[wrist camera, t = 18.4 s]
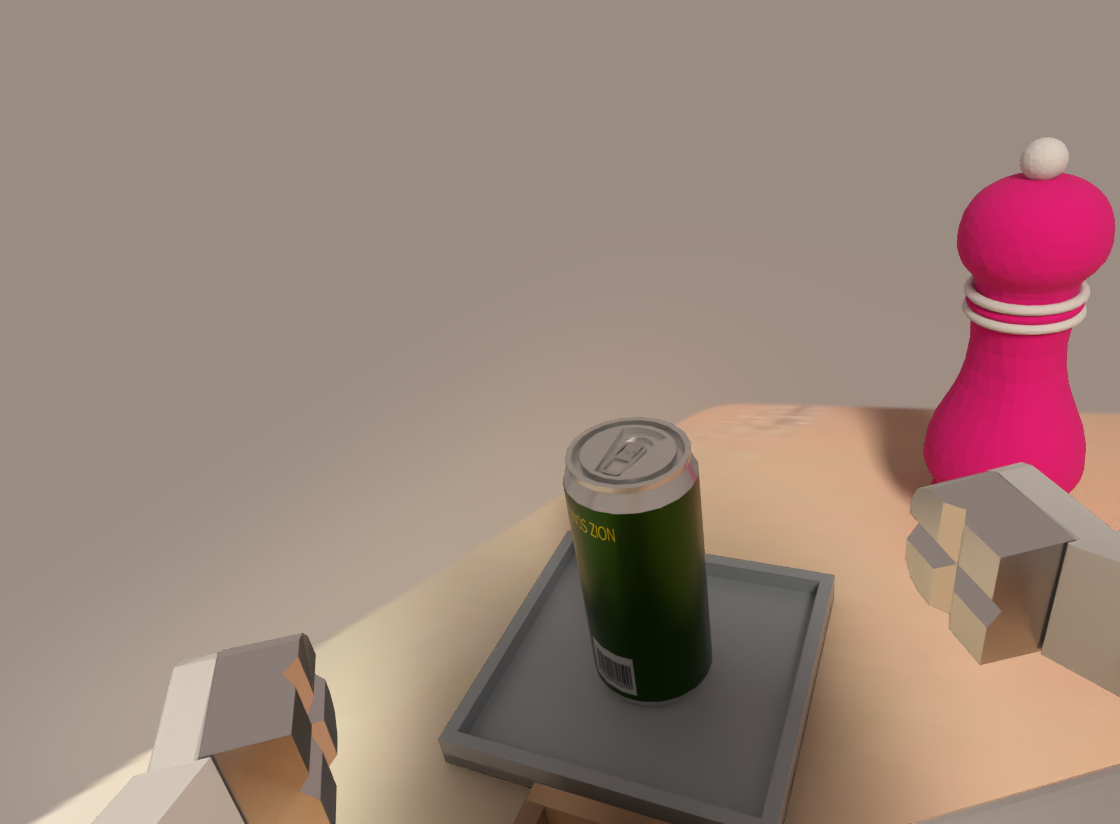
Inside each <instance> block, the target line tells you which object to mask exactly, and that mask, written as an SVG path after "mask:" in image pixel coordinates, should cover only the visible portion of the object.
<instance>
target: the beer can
mask: <svg viewBox="0 0 1120 824" xmlns="http://www.w3.org/2000/svg"><path fill="white" fill-rule="evenodd" d="M565 462H566V468H565V473H564V478H563V485H564V491H565V496H566V502H567V508H568V514H569V519H570V525H571V531H572V536H573V542H574V548H575V553H576V559H577V565H578V570H579V576H580V582H581V587H582V593H583V599H584V605H585V610H586V616H587V622H588V627H589V633H590V639H591V644H592V650H593V656H594V661H595V665H596V668H597V671H598V675H599V677H600V678H601V679H602V680H603V682H604V683H605V684H606V685H607V686H608V688H609V689H610V690H611V691H612V692H613V693H614V694H615V695H616V696H618V697H619V698H621V699H623V700H624V701H626V702H627V703H629V704H633V705H637V706H640V707H644V708H662V707H666V706H670V705H674V704H677V703H679V702H681V701H683V700H685V699H686V698H688V697H690V696H691V695H692V694H693V693H694V692H695V691H696V690H697V689H698V688H699V687H700V685H701V684H702V683H703V681H704V679H705V678H706V676H707V674H708V671H709V669H710V666H711V664H712V642H711V629H710V616H709V602H708V589H707V576H706V562H705V549H704V536H703V522H702V509H701V495H700V482H699V469H698V461H697V460H696V458H695V457H694V455H693V453H692V452H691V442H690V440H689V439H688V437H687V435H686V434H685V432H684V431H682V430H681V429H679V428H678V427H676V426H675V425H673V424H671V423H668V422H665V421H662V420H659V419H653V418H644V417H633V418H620V419H615V420H611V421H607V422H603V423H601V424H598V425H596V426H594V427H591V428H589V429H587V430H585V431H584V432H583V433H581V434H580V435H579V436H577V437H576V438H575V439H574V440H573V441H572V443H571V444H570V446H569V447H568V448H567V452H566V457H565Z"/></svg>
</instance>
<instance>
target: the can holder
mask: <svg viewBox="0 0 1120 824" xmlns="http://www.w3.org/2000/svg"><path fill="white" fill-rule="evenodd" d="M514 824H671V823H668V822H664V821H661V820H658V819H654V818H651V817H648V816H644V815H641V814H638V813H635V812H631V811H628V810H625V809H621V808H618V807H615V806H612V805H608V804H605V803H602V802H598V801H595V800H592V799H589V798H585V797H582V796H579V795H575V794H572V793H569V792H565V791H562V790H559V789H556V788H552V787H549V786H546V785H542V784H539V783H536V782H534V784H533V786H532V788H531V790H530V792H529V794H528V796H527V798H526V800H525V802H524V804H523V806H522V808H521V810H520V812H519V814H518V816H517V818H516V820H515V822H514Z"/></svg>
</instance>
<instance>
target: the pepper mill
mask: <svg viewBox="0 0 1120 824" xmlns="http://www.w3.org/2000/svg"><path fill="white" fill-rule="evenodd" d="M1068 159H1069V153H1068V151H1067V148H1066V146H1065V145H1064V144H1063V143H1062V142H1061V141H1060V140H1057V139H1054V138H1048V137H1045V138H1041V139H1037V140H1035V141H1033V142H1032V143H1030V144H1029V145H1028V146H1027V147H1026V148H1025V150H1024V151H1023V152H1022V155H1021V158H1020V167H1021V170H1022V172H1023V173H1019V174H1015V175H1012V176H1009V177H1006V178H1003V179H1000V180H998V181H996V182H994V183H992V184H991V185H989V186H987V187H985V188H984V189H983V190H982V191H980V192H979V193H978V194H977V195H976V196H975V197H974V198H973V200H972V201H971V202H970V204H969V205H968V207H967V208H966V210H965V211H964V214H963V216H962V219H961V222H960V225H959V229H958V235H957V249H958V253H959V256H960V259H961V261H962V263H963V264H964V266H965V267H966V268H967V269H968V271H969V272H970V273H971V274H972V276H971V277H970V278H969V279H968V280H967V281H966V283H965V285H964V292H965V294H966V297H965V299H964V301H963V303H962V310H963V312H964V314H965V315H966V316H967V317H968V318H969V319H970V320H971V325H970V340H969V344H968V349H967V353H966V358H965V361H964V363H963V366H962V368H961V371H960V373H959V375H958V377H957V379H956V380H955V382H954V384H953V385H952V387H951V388H950V390H949V391H948V392H947V394H946V395H945V397H944V398H943V400H942V401H941V403H940V404H939V405H938V407H937V408H936V410H935V412H934V414H933V416H932V419H931V421H930V423H929V425H928V429H927V433H926V439H925V444H924V459H925V462H926V465H927V467H928V469H929V471H930V473H931V474H932V476H933V477H934V479H933V481H932V483H931V485H933V484H937V483H941V482H945V481H949V480H953V479H957V478H962V477H966V476H970V475H974V474H978V473H984V472H986V471H988V470H992V469H996V468H1000V467H1004V466H1008V465H1011V464H1015V463H1019V462H1023V463H1026V464H1029V465H1032V466H1034V467H1035V468H1036V469H1038V470H1039V471H1040V472H1041V473H1043V474H1044V475H1045V476H1047V477H1048V478H1049V479H1050V480H1052V481H1053V482H1054V483H1055V484H1057V485H1058V486H1059V487H1060V488H1062V489H1063V490H1064V491H1065V492H1067V493H1068V494H1069V493H1070V492H1071V491H1072V490H1073V489H1074V488H1075V486H1076V485H1077V484H1078V482H1079V481H1080V479H1081V476H1082V474H1083V471H1084V464H1085V453H1086V442H1085V436H1084V429H1083V425H1082V421H1081V419H1080V416H1079V413H1078V410H1077V408H1076V404H1075V401H1074V399H1073V396H1072V392H1071V389H1070V386H1069V380H1068V373H1067V365H1066V364H1067V348H1068V341H1069V337H1070V333H1071V329H1072V327H1074V326H1076V325H1077V324H1079V323H1080V322H1081V321H1082V320H1083V319H1084V317H1085V315H1086V305H1085V302H1086V301H1087V300H1088V297H1089V295H1090V288H1089V286H1088V284H1087V283H1086V282H1085V281H1084V280H1086V279H1087V278H1088V277H1089V276H1091V275H1092V274H1094V273H1095V272H1096V271H1097V270H1098V269H1099V268H1100V267H1101V266H1102V265H1103V264H1104V263H1105V262H1106V260H1107V258H1108V256H1109V254H1110V252H1111V249H1112V246H1113V243H1114V233H1115V219H1114V214H1113V210H1112V207H1111V205H1110V203H1109V201H1108V199H1107V198H1106V196H1105V195H1104V194H1103V193H1102V192H1101V191H1100V190H1099V189H1098V188H1097V187H1095V186H1094V185H1093V184H1091V183H1090V182H1088V181H1086V180H1084V179H1082V178H1080V177H1077V176H1074V175H1070V174H1066V173H1062V172H1063V170H1064V169H1065V167H1066V165H1067V164H1068Z"/></svg>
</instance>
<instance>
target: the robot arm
mask: <svg viewBox="0 0 1120 824" xmlns="http://www.w3.org/2000/svg"><path fill="white" fill-rule="evenodd" d="M910 514H911V515H912V516H913V517H914V518H915V519H916V520H917V522H918V525H917V526H916V527H915V528H914V530H913V531H912V532H911V534H910V535H909V536H908V538H907V541H906V556H905V559H906V563H907V567H908V570H909V574H910V578H911V580H912V582H913V583H914V585H915V587H916V589H917V591H918V592H919V594H920V595H921V596H922V597H923V599H924V600H925V601H926V602H927V603H928V605H930V606H932V607H934V608H937V609H939V610H941V611H944V612H946V613H948V614H949V630H950V631H951V632H952V633H953V634H954V636H955V637H956V638H957V639H958V640H959V641H960V643H961V644H962V645H963V646H964V647H965V648H966V650H967V651H968V652H969V653H970V654H971V655H972V657H973V658H974V659H975V660H976V661H977V662H978V664H979V665H983V664H987V663H991V662H996V661H1000V660H1004V659H1008V658H1013V657H1017V656H1021V655H1026V654H1030V653H1034V652H1038V651H1041V655H1043V656H1045V657H1047V658H1049V659H1051V660H1053V661H1054V662H1056V663H1058V664H1060V665H1062V666H1064V667H1065V668H1067V669H1069V670H1071V671H1073V672H1075V673H1076V674H1078V675H1080V676H1082V677H1084V678H1086V679H1088V680H1089V681H1091V682H1093V683H1095V684H1097V685H1099V686H1100V687H1102V688H1104V689H1106V690H1108V691H1110V692H1112V693H1113V694H1115V695H1117V696H1119V697H1120V530H1119V531H1115V530H1113V529H1112V528H1111V527H1110V526H1108V525H1107V524H1106V523H1105V522H1103V521H1102V520H1101V519H1100V518H1098V517H1097V516H1096V515H1095V514H1093V513H1092V512H1091V511H1089V510H1088V509H1087V508H1086V507H1084V506H1083V505H1082V504H1081V503H1079V502H1078V501H1077V500H1076V499H1074V498H1073V497H1072V496H1071V495H1069V494H1068V493H1067V492H1065V491H1064V490H1063V489H1062V488H1060V487H1059V486H1058V485H1057V484H1055V483H1054V482H1053V481H1052V480H1050V479H1049V478H1048V477H1047V476H1045V475H1044V474H1043V473H1041V472H1040V471H1039V470H1038V469H1036V468H1035V467H1034V466H1032V465H1029V464H1026V463H1023V462H1019V463H1015V464H1011V465H1008V466H1004V467H1000V468H996V469H992V470H988V471H986V472H984V473H978V474H974V475H970V476H966V477H962V478H957V479H953V480H949V481H945V482H941V483H937V484H933V485H929V486H925V487H921V488H917V490H916V491H915V493H914V495H913V496H912V500H911V507H910ZM315 657H316V654H315V652H314V650H313V647H312V645H311V643H310V641H309V638H308V636H307V635H305V634H303V633H301V634H297V635H292V636H287V637H282V638H278V639H273V640H268V641H264V642H259V643H254V644H250V645H245V646H241V647H235V648H230V649H226V650H222V652H216V653H211V654H206V655H201V656H197V657H192V658H187V659H182V660H180V661H179V663H178V664H177V665H176V666H175V668H174V670H173V671H172V675H171V679H170V683H169V687H168V691H167V695H166V699H165V703H164V707H163V711H162V715H161V720H160V723H159V727H158V731H157V735H156V739H155V743H154V747H153V751H152V755H151V759H150V763H149V767H148V771H147V773H144V774H140V775H136V776H134V777H133V778H132V779H131V780H130V781H129V782H128V783H127V785H126V786H125V787H124V788H123V789H122V790H121V791H120V792H119V793H118V795H117V796H116V797H115V798H114V799H113V800H112V801H111V802H110V803H109V805H108V806H107V807H106V808H105V809H104V810H103V811H102V812H101V813H100V814H99V816H98V817H97V818H96V819H95V820H94V821H93V822H92V823H91V824H335V820H336V784H335V781H334V779H333V776H332V773H331V771H330V768H329V766H330V764H331V763H332V761H333V760H334V759H335V757H336V756H337V728H336V719H335V711H334V707H333V703H332V699H331V695H330V692H329V689H328V686H327V683H326V681H325V679H323V678H321V677H319V676H318V675H316V674H315ZM911 824H1120V764H1117V765H1114V766H1110V767H1107V768H1103V769H1099V770H1096V771H1092V772H1089V773H1085V774H1082V775H1078V776H1075V777H1071V778H1068V779H1064V780H1061V781H1057V782H1054V783H1050V784H1047V785H1043V786H1040V787H1036V788H1033V789H1029V790H1026V791H1022V792H1019V793H1015V794H1012V795H1008V796H1005V797H1001V798H998V799H994V800H991V801H987V802H984V803H980V804H977V805H974V806H970V807H967V808H963V809H960V810H956V811H953V812H949V813H946V814H942V815H939V816H935V817H932V818H928V819H925V820H921V821H918V822H914V823H911Z"/></svg>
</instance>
